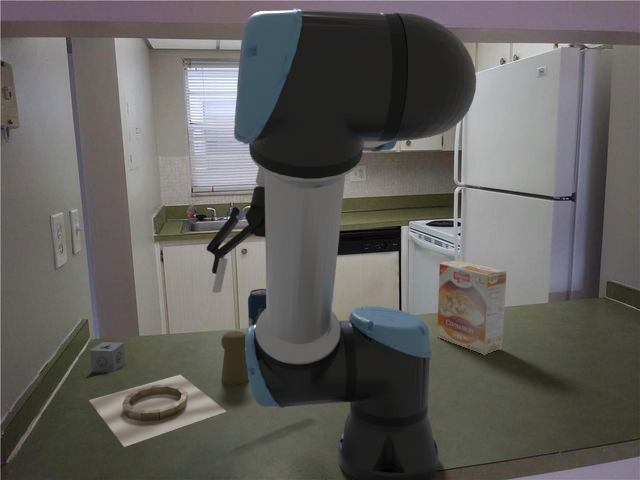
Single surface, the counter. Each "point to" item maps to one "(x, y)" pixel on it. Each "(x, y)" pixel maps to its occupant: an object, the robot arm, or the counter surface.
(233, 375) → the cork
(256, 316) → the soda can
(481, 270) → the coffeecake box
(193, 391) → the board
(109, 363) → the dice cube
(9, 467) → the counter surface
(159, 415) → the collar
